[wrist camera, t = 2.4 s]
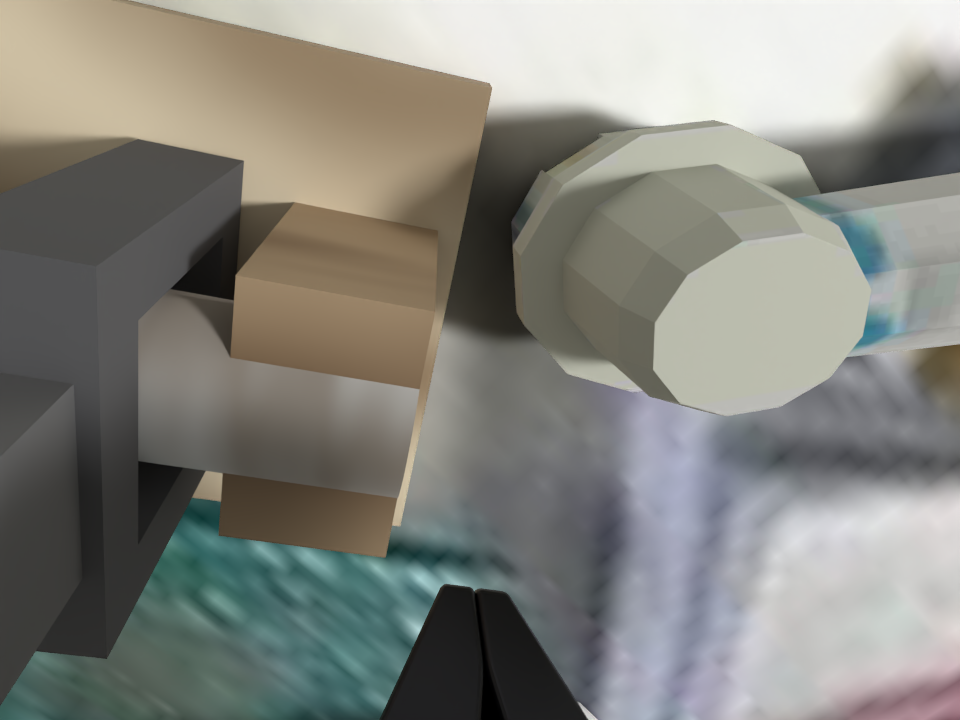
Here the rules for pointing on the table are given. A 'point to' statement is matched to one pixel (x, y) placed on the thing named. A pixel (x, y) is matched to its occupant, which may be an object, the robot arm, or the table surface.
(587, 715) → the ink cartridge box
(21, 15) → the pipe stand
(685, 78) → the table surface
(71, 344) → the collar
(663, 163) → the grey piece
